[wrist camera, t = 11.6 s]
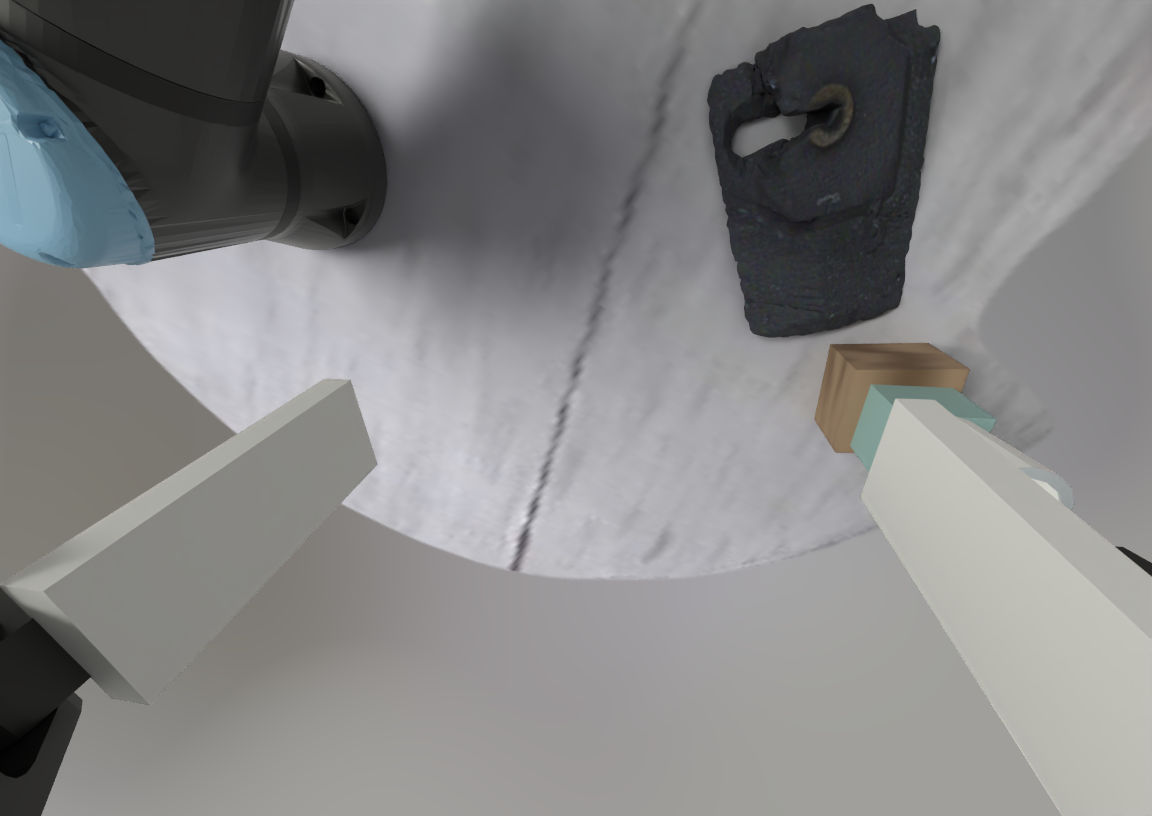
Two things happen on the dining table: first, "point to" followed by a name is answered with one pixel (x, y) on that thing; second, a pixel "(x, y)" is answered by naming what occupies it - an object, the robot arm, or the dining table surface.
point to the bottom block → (876, 381)
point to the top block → (884, 397)
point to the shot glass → (1028, 466)
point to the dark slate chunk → (826, 169)
